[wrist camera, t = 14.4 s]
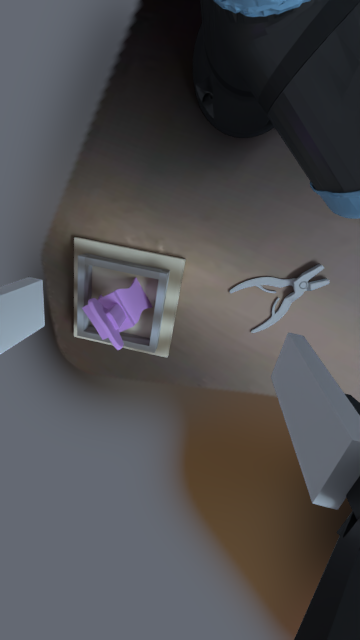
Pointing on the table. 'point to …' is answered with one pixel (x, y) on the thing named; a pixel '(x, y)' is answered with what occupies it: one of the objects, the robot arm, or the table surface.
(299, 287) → the pliers
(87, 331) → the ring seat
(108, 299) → the toy chair
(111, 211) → the table surface
